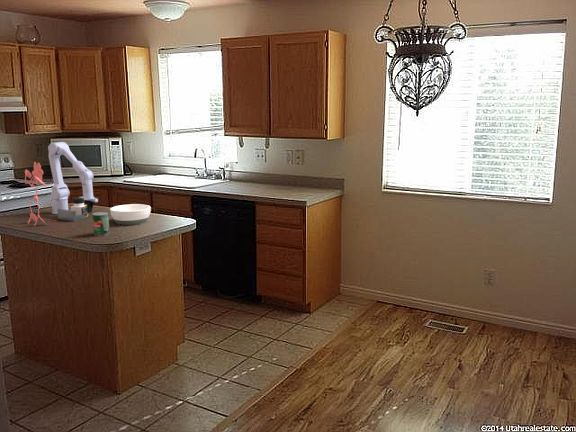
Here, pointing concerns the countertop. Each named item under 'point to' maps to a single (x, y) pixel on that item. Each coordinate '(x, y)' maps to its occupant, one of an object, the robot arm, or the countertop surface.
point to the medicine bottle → (79, 206)
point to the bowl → (130, 214)
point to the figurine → (37, 177)
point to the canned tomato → (101, 223)
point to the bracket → (69, 215)
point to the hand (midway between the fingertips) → (89, 212)
